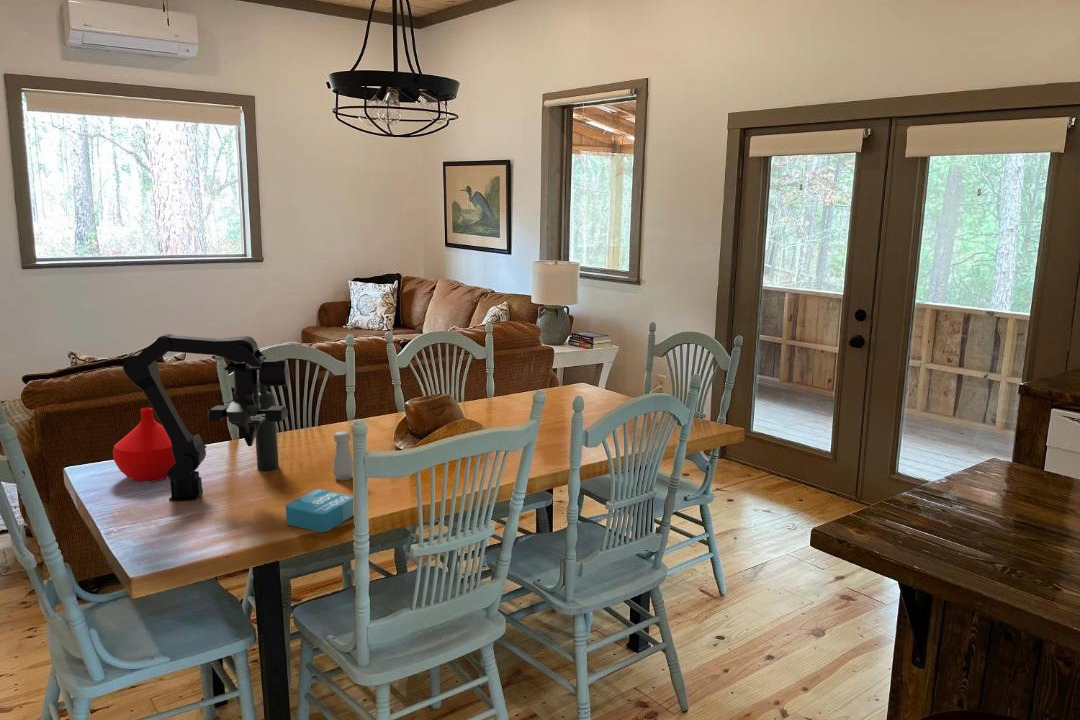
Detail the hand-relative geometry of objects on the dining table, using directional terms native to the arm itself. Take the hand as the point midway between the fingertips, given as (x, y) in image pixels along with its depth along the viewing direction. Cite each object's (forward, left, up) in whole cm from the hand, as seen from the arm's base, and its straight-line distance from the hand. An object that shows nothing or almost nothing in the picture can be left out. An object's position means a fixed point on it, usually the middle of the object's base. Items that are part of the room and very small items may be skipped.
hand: (250, 445), depth 208 cm
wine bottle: (-2, +21, -13) cm, 25 cm away
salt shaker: (+21, +11, -13) cm, 27 cm away
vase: (-32, +16, -13) cm, 38 cm away
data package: (+16, -16, -10) cm, 25 cm away
